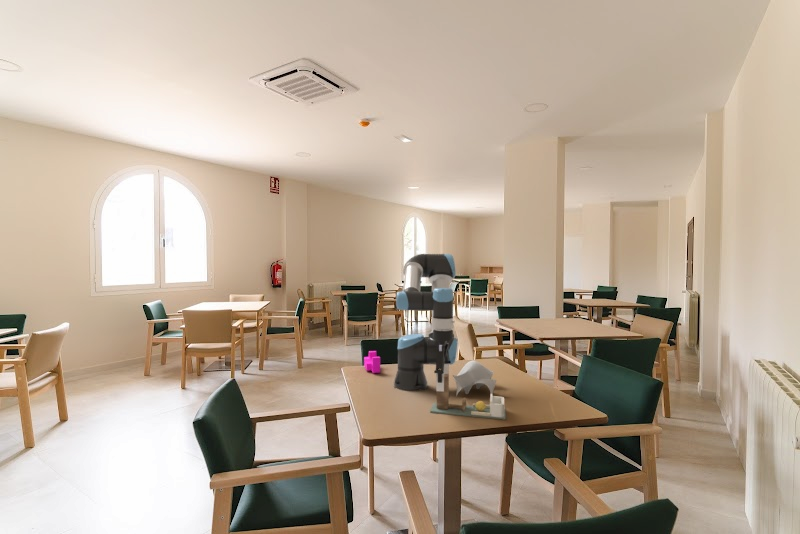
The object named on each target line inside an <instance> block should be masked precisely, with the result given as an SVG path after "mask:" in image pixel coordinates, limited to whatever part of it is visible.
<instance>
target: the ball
mask: <svg viewBox="0 0 800 534" xmlns="http://www.w3.org/2000/svg"><path fill="white" fill-rule="evenodd" d="M475 404H476V409H477V410H478V411H483V410H484V409H485V405H486V404H485V402H484V401H482V400H478V401H476V403H475Z"/></svg>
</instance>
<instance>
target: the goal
mask: <svg viewBox="0 0 800 534" xmlns="http://www.w3.org/2000/svg"><path fill="white" fill-rule="evenodd" d="M489 405H490V414H491V415H490V416H491V417H502V418H504V409H505V397H504V396H496V395H493V393H492V394H491V393H490V398H489Z"/></svg>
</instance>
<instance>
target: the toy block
mask: <svg viewBox="0 0 800 534" xmlns="http://www.w3.org/2000/svg"><path fill="white" fill-rule="evenodd" d="M363 366H364V368H365V370H366V372H369V371H371V372H372V373H373V374H375V373H376V374H377V373H378V374H379V373H381V357H380V356H377V350H369V351H368V356H364V357H363Z"/></svg>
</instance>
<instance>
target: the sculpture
mask: <svg viewBox="0 0 800 534" xmlns="http://www.w3.org/2000/svg"><path fill="white" fill-rule="evenodd" d="M493 374H494V371H493V370H491V369H489V368H488V367H487V366H484V365H483V364H482V363H481V362H479V361H477V360H474V359H473V360H469V361H468V362H466V363H465V364H464V365H463V367H462V368H461V369H460V371H459V372H458V374H457V375H453V374H452V377H453V381H455V385H456V393H455V395H456V396H455V397H457V396H458V394H459V392H460V391H461V390H462V389H463V391H464V393H465V394H466V395H468V394H469V392H470V391H471V389H472V388H473V386H474V385H475V386H476V390H480V389H481V387H483V386H486V387H487V389H488V390H489V391H490V394H493V392H494V390H495V386H496V383H497V381H498V380H497V379H492V377H493Z"/></svg>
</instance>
